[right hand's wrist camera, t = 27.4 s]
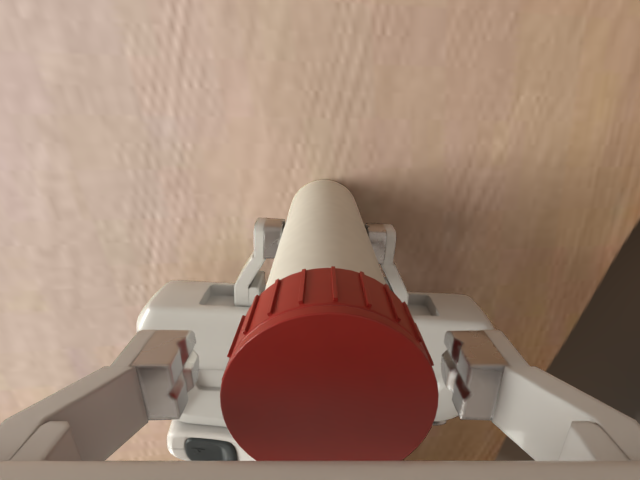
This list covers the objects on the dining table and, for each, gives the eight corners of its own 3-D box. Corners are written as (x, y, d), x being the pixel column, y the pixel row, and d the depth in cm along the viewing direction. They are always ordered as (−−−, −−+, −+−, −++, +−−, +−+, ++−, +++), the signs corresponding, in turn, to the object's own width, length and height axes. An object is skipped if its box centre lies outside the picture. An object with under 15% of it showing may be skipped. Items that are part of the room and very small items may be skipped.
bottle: (328, 165, 23) (341, 268, 8) (370, 216, 24) (449, 388, 9) (276, 208, 24) (205, 371, 9) (319, 255, 25) (317, 466, 10)
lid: (308, 226, 9) (304, 263, 7) (454, 331, 10) (490, 390, 8) (204, 358, 11) (175, 422, 9) (342, 436, 12) (346, 511, 10)
